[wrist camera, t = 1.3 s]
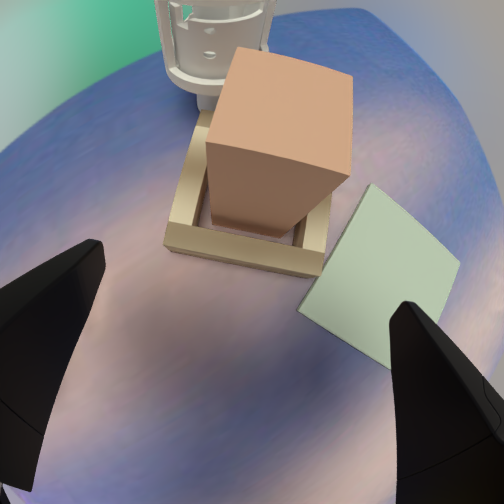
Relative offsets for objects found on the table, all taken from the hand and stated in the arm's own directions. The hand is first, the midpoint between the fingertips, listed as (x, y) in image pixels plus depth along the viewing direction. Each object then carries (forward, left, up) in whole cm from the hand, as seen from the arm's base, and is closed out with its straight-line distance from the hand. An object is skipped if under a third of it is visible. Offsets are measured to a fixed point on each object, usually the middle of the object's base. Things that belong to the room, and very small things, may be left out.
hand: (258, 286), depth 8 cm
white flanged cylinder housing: (+14, +7, -13) cm, 20 cm away
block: (+7, +1, -13) cm, 14 cm away
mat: (+5, -12, -13) cm, 18 cm away
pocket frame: (+7, +1, -13) cm, 14 cm away
